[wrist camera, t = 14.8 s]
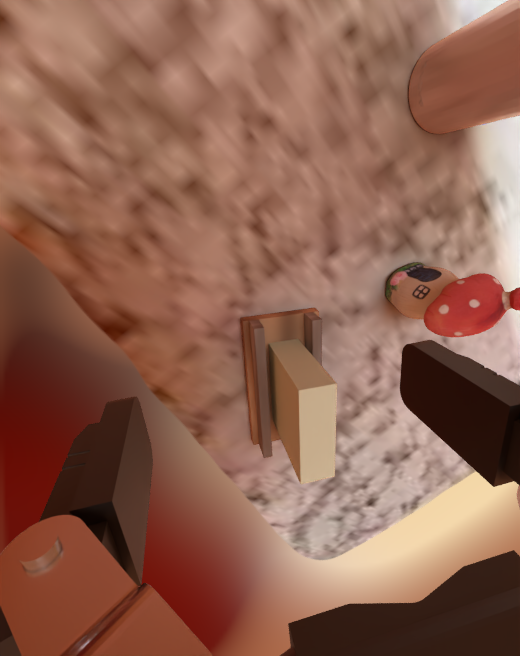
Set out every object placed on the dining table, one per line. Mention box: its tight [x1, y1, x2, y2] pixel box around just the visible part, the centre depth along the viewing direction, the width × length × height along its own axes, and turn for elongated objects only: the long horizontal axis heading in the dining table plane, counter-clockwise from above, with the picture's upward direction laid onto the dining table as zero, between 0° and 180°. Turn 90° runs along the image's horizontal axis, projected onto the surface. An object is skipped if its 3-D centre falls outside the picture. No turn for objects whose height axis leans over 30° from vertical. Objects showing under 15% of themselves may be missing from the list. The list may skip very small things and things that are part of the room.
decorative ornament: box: [385, 263, 520, 337], centre depth 41 cm, size 9×7×15 cm
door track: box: [241, 308, 322, 458], centre depth 47 cm, size 10×19×4 cm, turn 3°
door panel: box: [269, 339, 337, 484], centre depth 42 cm, size 4×12×12 cm, turn 3°
